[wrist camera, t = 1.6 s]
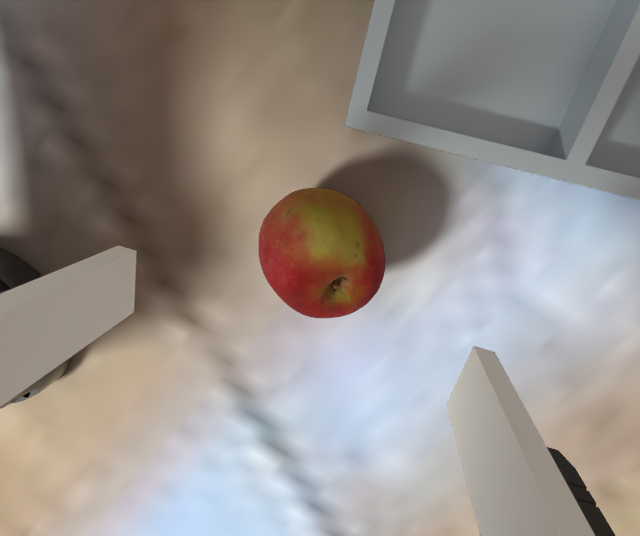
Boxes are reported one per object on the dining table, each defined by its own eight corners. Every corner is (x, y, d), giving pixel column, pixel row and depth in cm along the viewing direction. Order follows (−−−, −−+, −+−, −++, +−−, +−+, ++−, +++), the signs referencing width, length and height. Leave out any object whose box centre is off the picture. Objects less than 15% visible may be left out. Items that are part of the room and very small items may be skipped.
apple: (296, 296, 28) (268, 353, 21) (263, 196, 26) (218, 219, 18) (392, 275, 26) (400, 329, 19) (366, 166, 24) (363, 179, 16)
